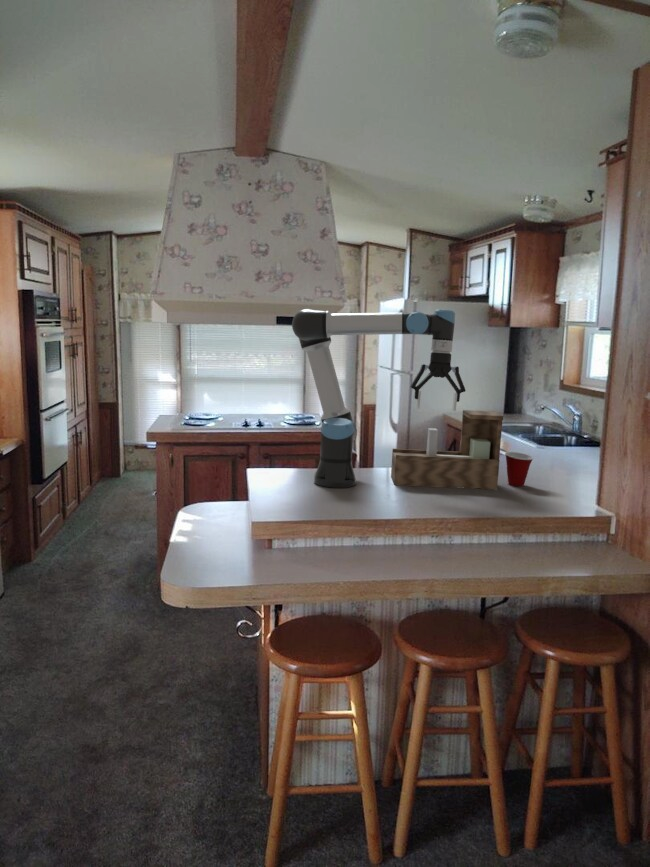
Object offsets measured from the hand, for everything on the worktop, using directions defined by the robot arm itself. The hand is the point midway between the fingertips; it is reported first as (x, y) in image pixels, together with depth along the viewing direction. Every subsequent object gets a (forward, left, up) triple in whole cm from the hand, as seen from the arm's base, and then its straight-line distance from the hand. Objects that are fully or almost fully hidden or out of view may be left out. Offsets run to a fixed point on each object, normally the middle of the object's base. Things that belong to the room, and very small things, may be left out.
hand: (435, 409), depth 247 cm
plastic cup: (+33, +2, -28) cm, 44 cm away
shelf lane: (+4, -1, -28) cm, 28 cm away
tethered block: (+9, -1, -18) cm, 20 cm away
